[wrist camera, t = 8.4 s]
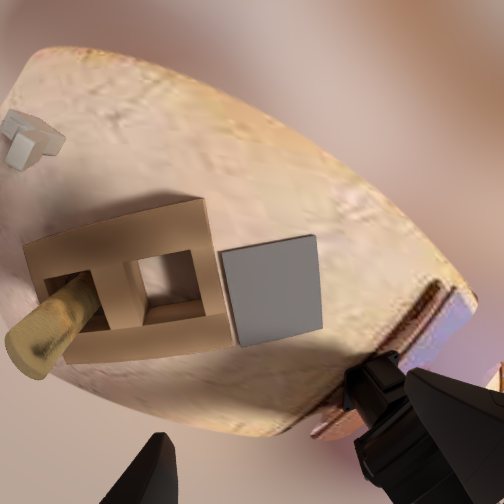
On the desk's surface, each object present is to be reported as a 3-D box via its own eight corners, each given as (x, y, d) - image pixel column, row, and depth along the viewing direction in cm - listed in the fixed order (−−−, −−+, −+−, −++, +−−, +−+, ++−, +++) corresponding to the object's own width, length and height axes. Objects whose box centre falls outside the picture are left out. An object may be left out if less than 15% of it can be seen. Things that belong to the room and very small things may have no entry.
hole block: (229, 326, 21) (232, 346, 18) (79, 346, 20) (67, 364, 17) (204, 197, 18) (202, 199, 15) (42, 237, 17) (22, 245, 14)
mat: (321, 326, 22) (322, 328, 22) (240, 345, 21) (241, 347, 21) (314, 235, 20) (315, 235, 20) (221, 252, 19) (221, 253, 19)
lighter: (29, 135, 15) (-34, 124, 7) (38, 117, 15) (-22, 98, 7) (79, 174, 17) (14, 173, 9) (91, 154, 16) (29, 141, 9)
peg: (112, 303, 19) (56, 381, 10) (82, 308, 19) (21, 378, 9) (100, 267, 18) (30, 329, 9) (71, 273, 18) (-3, 331, 8)
